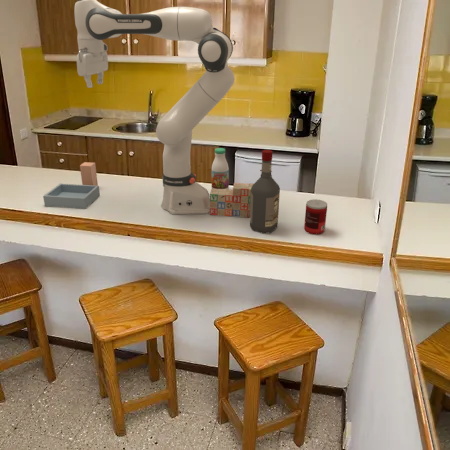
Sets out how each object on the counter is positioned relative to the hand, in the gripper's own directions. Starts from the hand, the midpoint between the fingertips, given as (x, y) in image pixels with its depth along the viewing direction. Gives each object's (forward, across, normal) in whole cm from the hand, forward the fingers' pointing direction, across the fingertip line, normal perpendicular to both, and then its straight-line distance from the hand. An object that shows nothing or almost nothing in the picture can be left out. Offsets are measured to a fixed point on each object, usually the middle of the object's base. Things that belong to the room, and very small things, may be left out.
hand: (95, 85), depth 175 cm
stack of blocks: (+49, -4, -56) cm, 74 cm away
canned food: (+49, -13, -87) cm, 101 cm away
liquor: (+49, -14, -68) cm, 85 cm away
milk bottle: (+48, +19, -45) cm, 69 cm away
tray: (+48, -2, +16) cm, 50 cm away
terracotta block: (+48, +12, +14) cm, 51 cm away
